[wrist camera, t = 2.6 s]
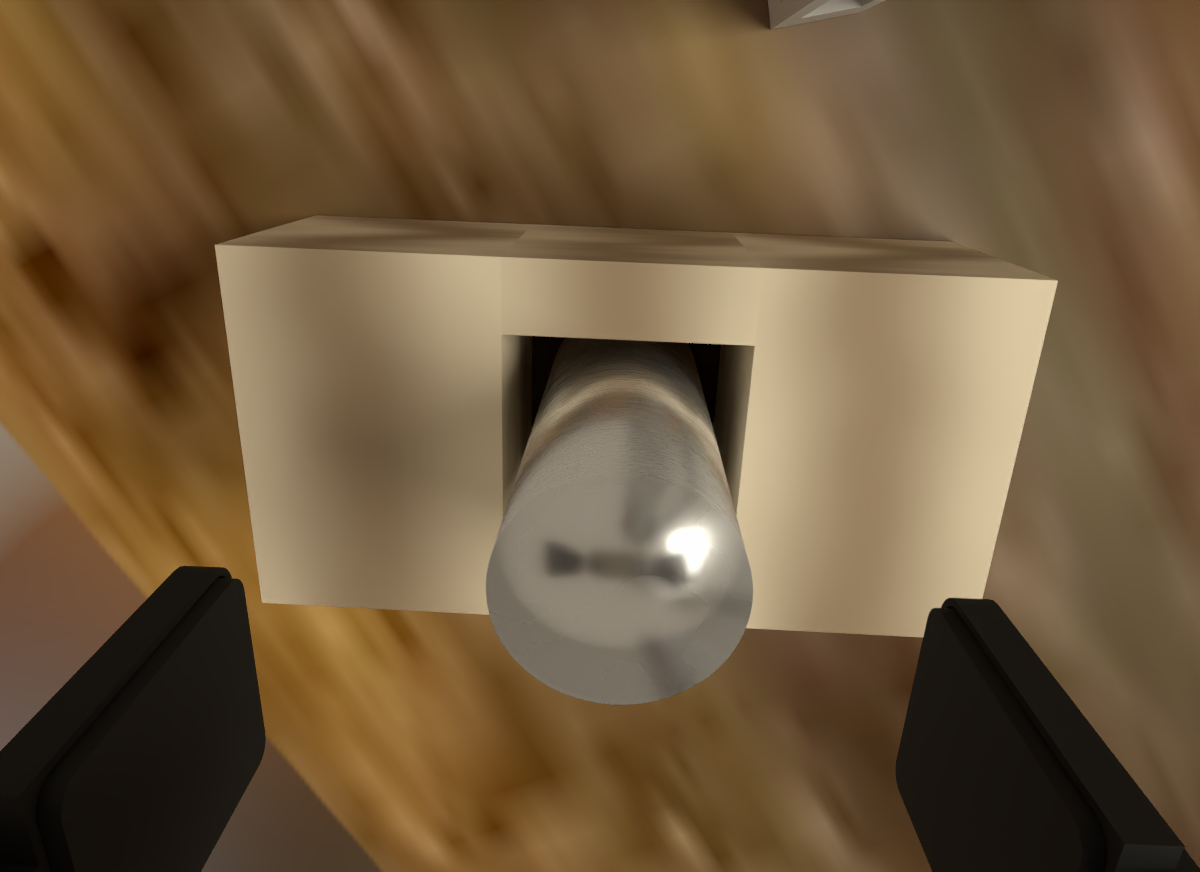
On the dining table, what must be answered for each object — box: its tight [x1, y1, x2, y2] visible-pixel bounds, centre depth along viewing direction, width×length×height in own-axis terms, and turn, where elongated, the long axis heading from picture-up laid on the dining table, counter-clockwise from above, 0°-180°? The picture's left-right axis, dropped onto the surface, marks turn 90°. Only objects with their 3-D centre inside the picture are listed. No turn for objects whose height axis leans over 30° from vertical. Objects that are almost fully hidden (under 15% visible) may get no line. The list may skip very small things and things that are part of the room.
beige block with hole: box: [215, 215, 1058, 637], centre depth 22 cm, size 18×9×6 cm, turn 88°
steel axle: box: [486, 337, 753, 705], centre depth 19 cm, size 4×4×12 cm
